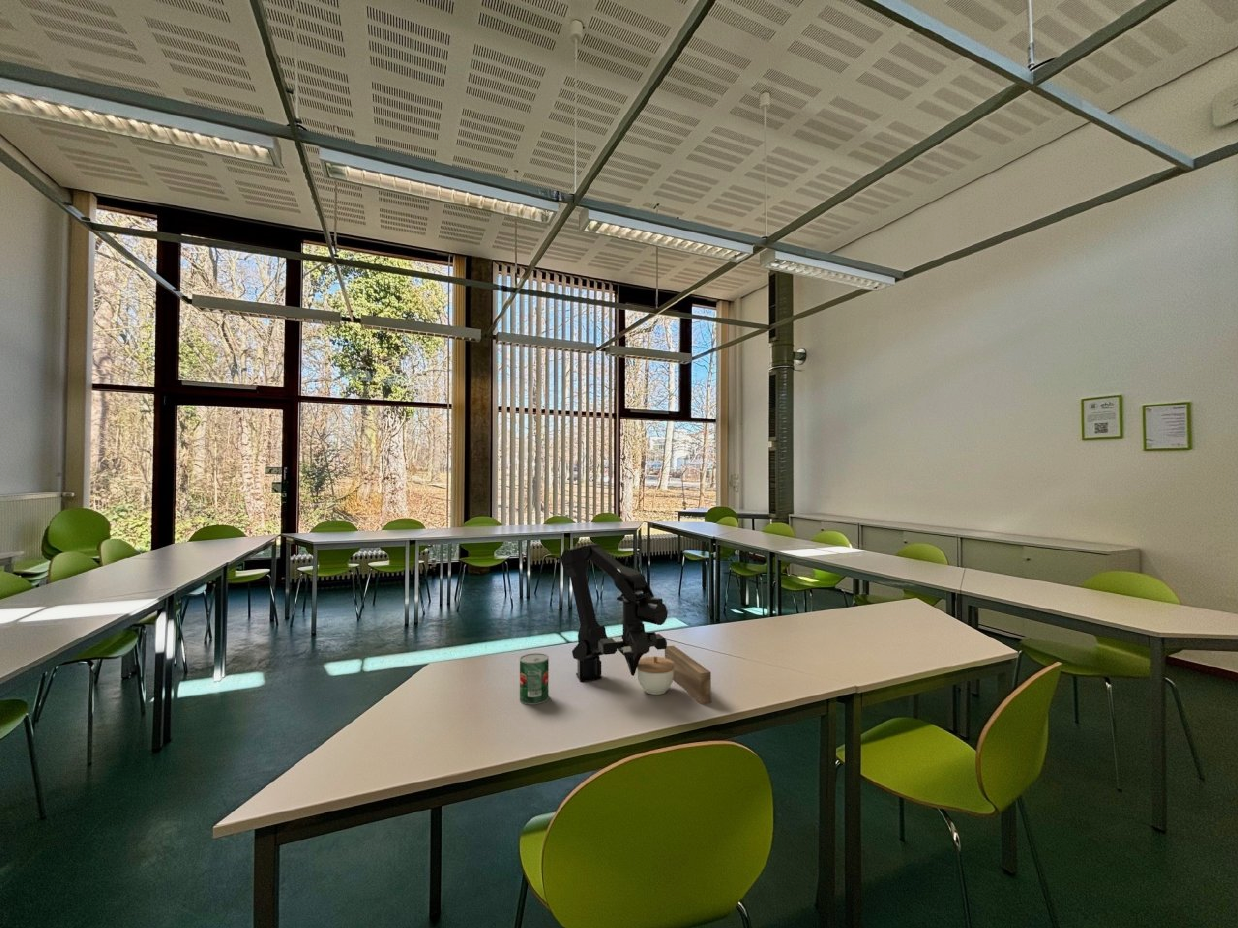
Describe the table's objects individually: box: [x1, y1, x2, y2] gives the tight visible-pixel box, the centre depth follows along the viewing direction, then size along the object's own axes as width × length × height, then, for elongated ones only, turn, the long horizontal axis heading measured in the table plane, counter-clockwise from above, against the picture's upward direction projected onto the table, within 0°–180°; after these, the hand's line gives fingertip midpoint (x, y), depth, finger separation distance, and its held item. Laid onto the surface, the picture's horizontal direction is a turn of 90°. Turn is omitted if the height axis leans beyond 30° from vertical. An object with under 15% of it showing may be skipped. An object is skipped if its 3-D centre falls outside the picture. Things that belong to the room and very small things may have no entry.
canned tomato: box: [519, 652, 550, 705], centre depth 138 cm, size 8×8×11 cm
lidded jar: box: [636, 655, 674, 696], centre depth 142 cm, size 11×11×9 cm
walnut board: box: [664, 645, 712, 705], centre depth 145 cm, size 3×24×8 cm, turn 18°
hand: (632, 675), depth 140 cm, fingers closed
